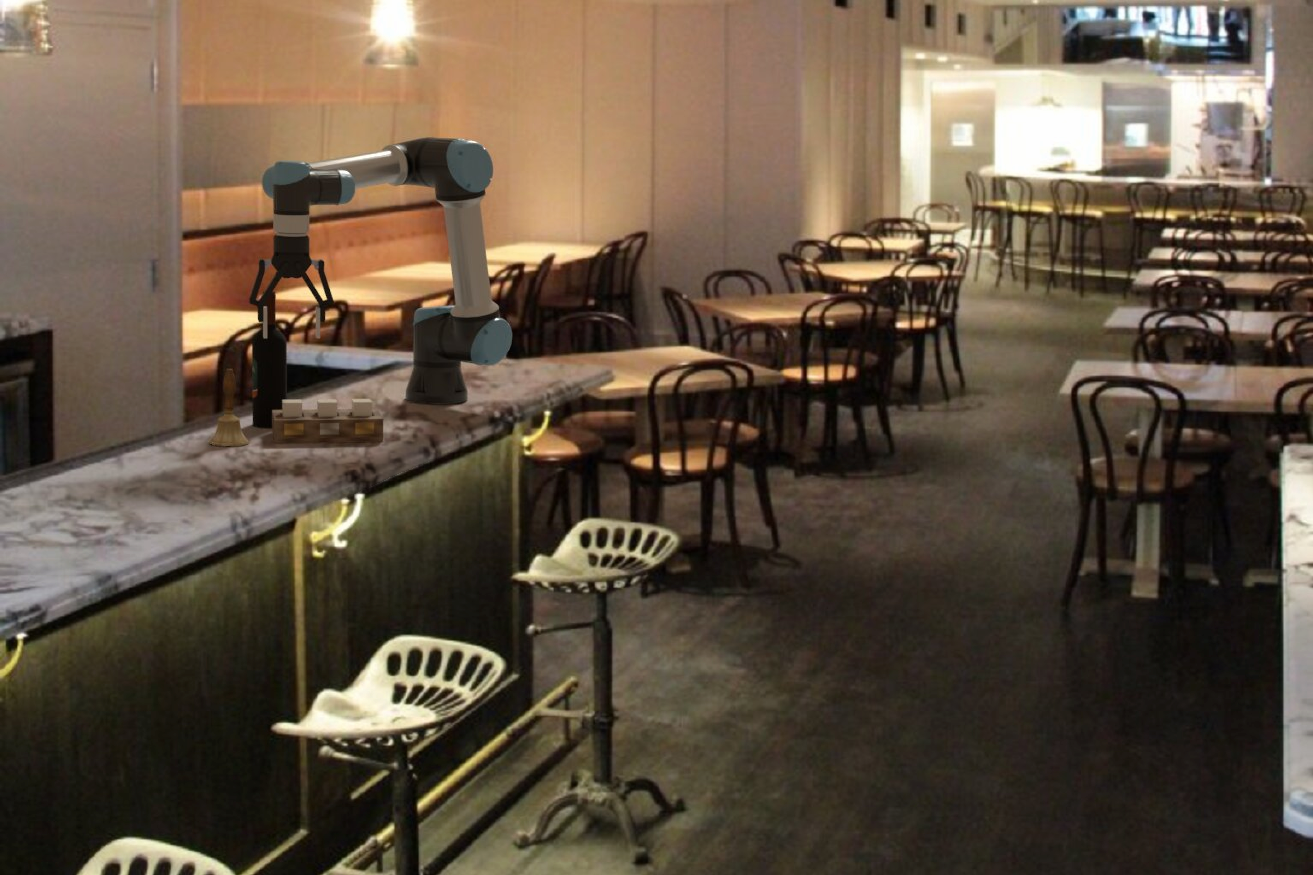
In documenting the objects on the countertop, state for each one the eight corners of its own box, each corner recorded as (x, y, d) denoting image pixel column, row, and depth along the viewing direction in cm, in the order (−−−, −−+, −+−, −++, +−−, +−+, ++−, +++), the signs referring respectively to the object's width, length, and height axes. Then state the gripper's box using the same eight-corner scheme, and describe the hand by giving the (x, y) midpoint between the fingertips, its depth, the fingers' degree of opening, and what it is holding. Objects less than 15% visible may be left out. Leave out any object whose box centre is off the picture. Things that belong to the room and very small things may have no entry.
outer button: (301, 422, 394) (300, 399, 393) (302, 425, 390) (302, 402, 389) (282, 422, 393) (282, 399, 392) (283, 425, 389) (283, 402, 388)
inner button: (370, 421, 398) (370, 398, 397) (372, 424, 394) (372, 402, 393) (351, 421, 397) (352, 399, 396) (353, 424, 393) (353, 402, 392)
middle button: (335, 421, 396) (335, 399, 395) (337, 425, 392) (337, 402, 391) (317, 421, 395) (317, 399, 394) (318, 425, 391) (318, 402, 390)
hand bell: (230, 437, 390) (229, 364, 387) (257, 443, 385) (256, 369, 382) (200, 443, 383) (199, 368, 380) (227, 448, 379) (226, 373, 375)
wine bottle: (270, 429, 400) (269, 294, 394) (245, 425, 404) (244, 291, 398) (294, 424, 406) (293, 292, 400) (269, 420, 410) (268, 289, 404)
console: (377, 430, 403) (377, 408, 402) (383, 441, 391) (383, 419, 390) (272, 432, 397) (272, 409, 396) (274, 443, 385) (274, 420, 384)
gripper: (344, 233, 390) (344, 335, 395) (235, 232, 385) (236, 335, 389) (347, 236, 383) (347, 340, 387) (236, 235, 377) (237, 340, 382)
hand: (291, 337), depth 388 cm, fingers open, 10 cm apart
